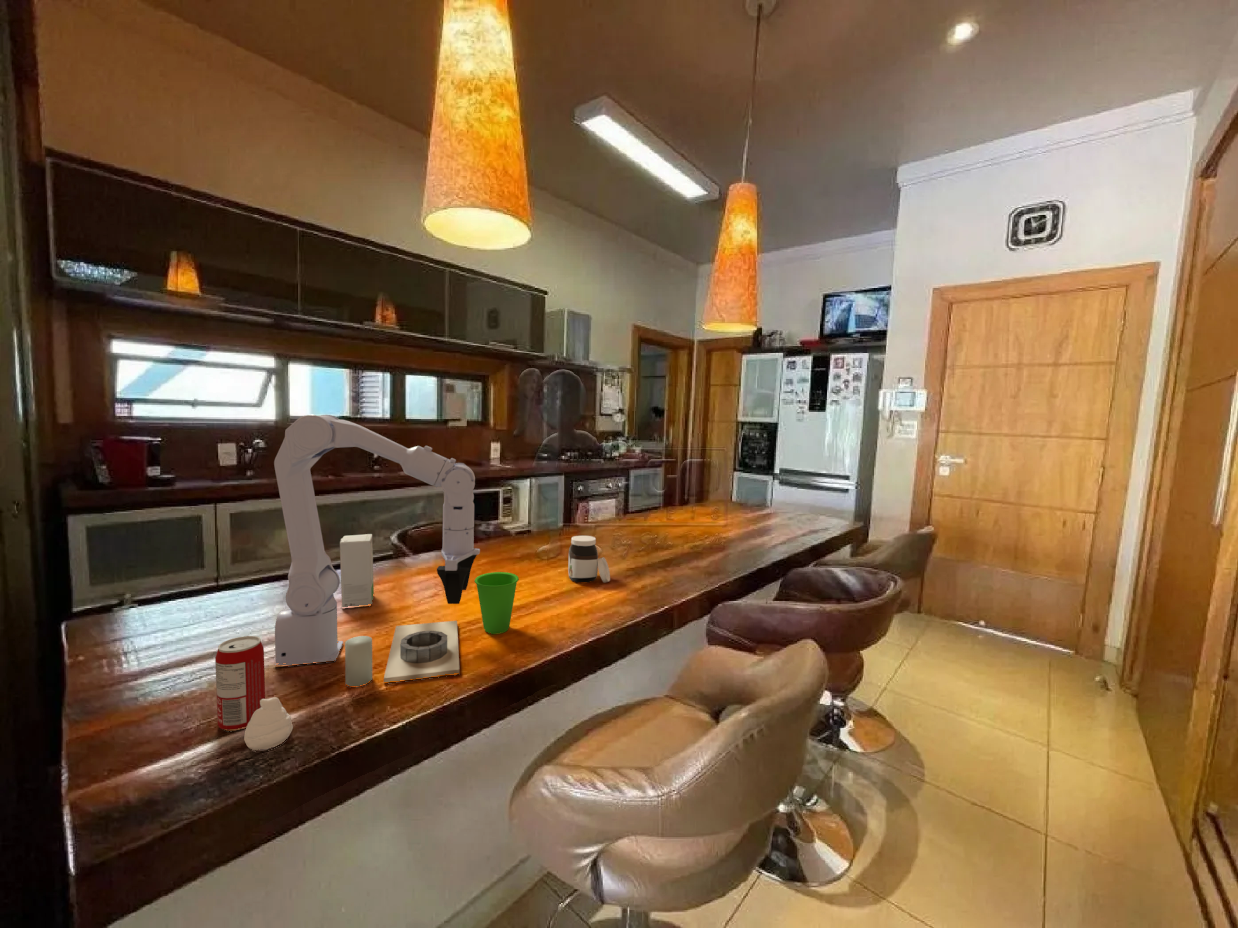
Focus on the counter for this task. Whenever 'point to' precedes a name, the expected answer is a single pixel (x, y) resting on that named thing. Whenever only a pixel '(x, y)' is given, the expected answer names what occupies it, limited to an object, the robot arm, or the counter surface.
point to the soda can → (239, 680)
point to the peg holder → (423, 651)
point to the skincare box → (356, 570)
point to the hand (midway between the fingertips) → (457, 596)
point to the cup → (496, 600)
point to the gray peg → (358, 660)
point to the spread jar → (586, 561)
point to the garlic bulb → (268, 725)
